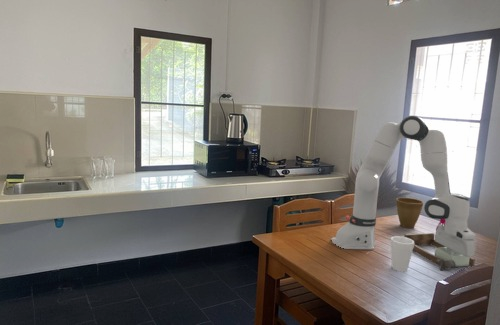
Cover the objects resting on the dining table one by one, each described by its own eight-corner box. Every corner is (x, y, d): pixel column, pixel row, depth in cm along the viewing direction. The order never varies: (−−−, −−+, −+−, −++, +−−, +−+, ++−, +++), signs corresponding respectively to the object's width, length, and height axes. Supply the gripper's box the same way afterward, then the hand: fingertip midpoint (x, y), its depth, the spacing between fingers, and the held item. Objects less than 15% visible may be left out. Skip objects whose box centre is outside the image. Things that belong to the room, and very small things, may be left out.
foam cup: (392, 262, 170) (395, 234, 169) (413, 268, 165) (416, 240, 163) (385, 268, 163) (388, 240, 161) (406, 275, 157) (410, 245, 156)
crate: (450, 267, 167) (451, 256, 166) (434, 258, 177) (435, 247, 176) (468, 265, 170) (470, 254, 169) (451, 256, 179) (453, 246, 179)
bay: (439, 272, 162) (440, 259, 161) (394, 245, 191) (396, 234, 190) (480, 268, 168) (482, 256, 167) (431, 243, 197) (432, 232, 196)
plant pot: (422, 225, 228) (425, 200, 226) (418, 232, 216) (421, 205, 213) (396, 220, 236) (399, 196, 234) (391, 226, 223) (394, 200, 221)
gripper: (433, 222, 180) (429, 249, 182) (467, 237, 160) (463, 268, 162) (444, 222, 181) (440, 249, 183) (479, 236, 162) (474, 267, 164)
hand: (451, 258), depth 173 cm, fingers closed
